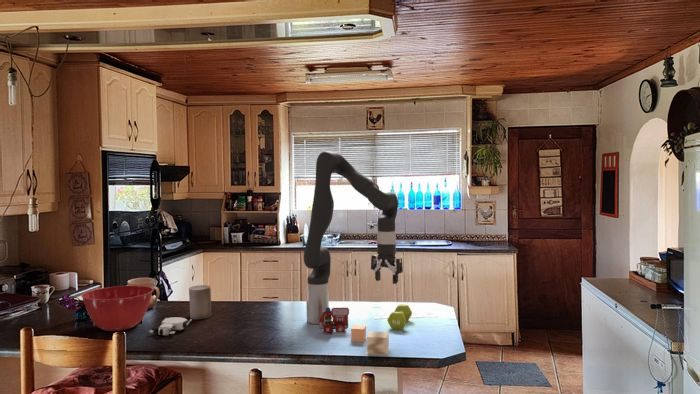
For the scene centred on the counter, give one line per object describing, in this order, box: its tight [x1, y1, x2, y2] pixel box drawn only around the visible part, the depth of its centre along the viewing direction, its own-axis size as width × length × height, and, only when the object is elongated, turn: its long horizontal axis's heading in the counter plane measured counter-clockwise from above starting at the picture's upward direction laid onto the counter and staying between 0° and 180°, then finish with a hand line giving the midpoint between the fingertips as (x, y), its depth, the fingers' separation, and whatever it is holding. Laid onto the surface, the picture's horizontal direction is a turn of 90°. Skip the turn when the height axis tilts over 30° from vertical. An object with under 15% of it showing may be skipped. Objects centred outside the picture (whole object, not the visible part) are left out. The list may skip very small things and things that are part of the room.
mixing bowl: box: [81, 285, 154, 332], centre depth 232 cm, size 28×28×15 cm
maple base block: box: [366, 330, 390, 356], centre depth 193 cm, size 7×7×6 cm
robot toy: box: [148, 316, 193, 336], centre depth 223 cm, size 12×4×15 cm
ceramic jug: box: [125, 277, 160, 310], centre depth 262 cm, size 18×14×14 cm
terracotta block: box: [350, 324, 367, 343], centre depth 207 cm, size 5×5×6 cm
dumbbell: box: [387, 303, 413, 331], centre depth 230 cm, size 16×8×7 cm, turn 162°
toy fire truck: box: [318, 307, 350, 335], centre depth 221 cm, size 7×12×10 cm, turn 86°
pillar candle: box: [188, 284, 213, 320], centre depth 246 cm, size 10×10×15 cm
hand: (386, 282), depth 216 cm, fingers open, 8 cm apart
